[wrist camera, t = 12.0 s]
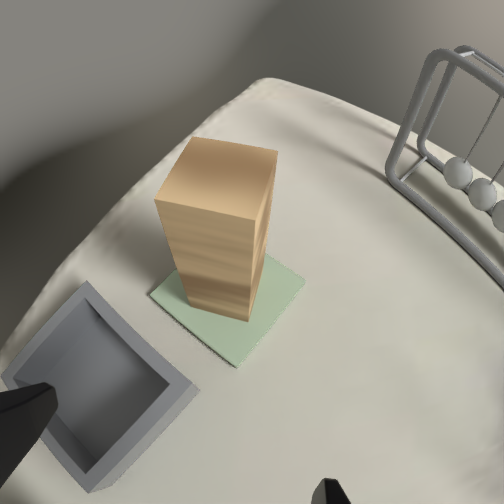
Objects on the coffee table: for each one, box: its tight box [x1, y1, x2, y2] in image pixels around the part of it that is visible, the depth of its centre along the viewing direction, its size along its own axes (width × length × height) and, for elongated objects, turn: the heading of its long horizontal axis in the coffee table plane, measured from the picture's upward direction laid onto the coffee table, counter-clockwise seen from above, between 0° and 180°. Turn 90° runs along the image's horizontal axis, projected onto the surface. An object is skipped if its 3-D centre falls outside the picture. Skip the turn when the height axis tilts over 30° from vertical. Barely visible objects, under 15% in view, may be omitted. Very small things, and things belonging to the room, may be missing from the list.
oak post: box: [154, 137, 278, 322], centre depth 20 cm, size 5×5×12 cm
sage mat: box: [150, 253, 306, 368], centre depth 25 cm, size 9×9×1 cm
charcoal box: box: [1, 280, 200, 493], centre depth 19 cm, size 11×11×4 cm
